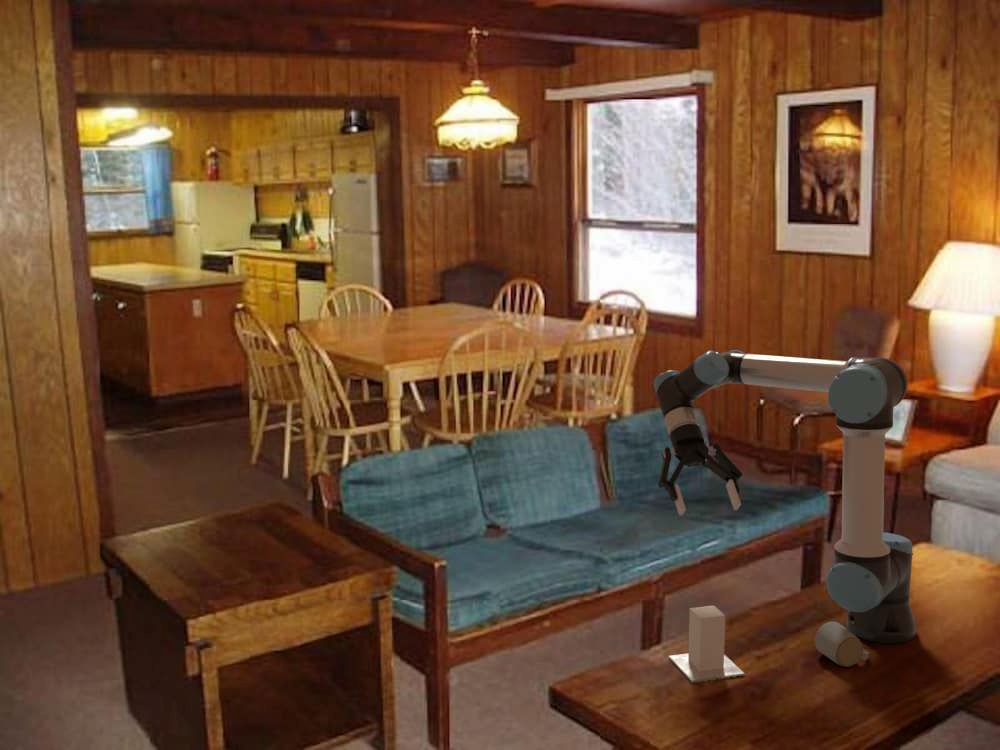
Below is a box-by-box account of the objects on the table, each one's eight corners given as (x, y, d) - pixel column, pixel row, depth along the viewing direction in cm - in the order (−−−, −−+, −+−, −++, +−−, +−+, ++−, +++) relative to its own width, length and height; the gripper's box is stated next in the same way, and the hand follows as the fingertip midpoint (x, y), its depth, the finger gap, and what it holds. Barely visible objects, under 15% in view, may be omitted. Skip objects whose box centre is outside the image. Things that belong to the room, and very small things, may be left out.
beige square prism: (711, 657, 232) (713, 605, 230) (723, 668, 227) (725, 615, 224) (688, 660, 231) (689, 608, 228) (699, 671, 225) (700, 618, 223)
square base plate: (719, 651, 236) (719, 621, 234) (744, 675, 224) (745, 643, 223) (668, 658, 233) (669, 627, 232) (692, 683, 221) (692, 650, 220)
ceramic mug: (836, 671, 226) (838, 637, 225) (813, 655, 234) (815, 622, 232) (877, 664, 229) (879, 631, 228) (853, 649, 237) (855, 616, 236)
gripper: (726, 435, 258) (754, 512, 246) (630, 442, 252) (654, 522, 240) (737, 418, 252) (766, 497, 240) (639, 425, 246) (664, 506, 234)
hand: (710, 510), depth 240 cm, fingers open, 13 cm apart
